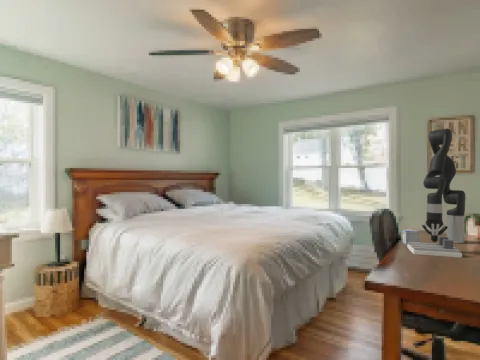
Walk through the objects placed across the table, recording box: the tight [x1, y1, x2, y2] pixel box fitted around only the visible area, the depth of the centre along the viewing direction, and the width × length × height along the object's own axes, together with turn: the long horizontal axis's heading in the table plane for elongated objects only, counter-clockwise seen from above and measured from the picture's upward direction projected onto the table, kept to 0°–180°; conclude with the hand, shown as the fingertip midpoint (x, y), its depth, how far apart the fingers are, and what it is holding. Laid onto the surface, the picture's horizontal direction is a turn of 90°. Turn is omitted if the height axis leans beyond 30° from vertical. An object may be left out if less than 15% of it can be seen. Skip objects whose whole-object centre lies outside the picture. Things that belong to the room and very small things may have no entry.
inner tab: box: [437, 235, 448, 246], centre depth 162 cm, size 3×4×6 cm
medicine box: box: [402, 229, 420, 245], centre depth 181 cm, size 8×4×9 cm, turn 84°
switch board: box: [406, 241, 463, 258], centre depth 160 cm, size 16×22×4 cm
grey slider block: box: [443, 239, 454, 249], centre depth 155 cm, size 3×4×6 cm
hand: (434, 241), depth 164 cm, fingers closed
